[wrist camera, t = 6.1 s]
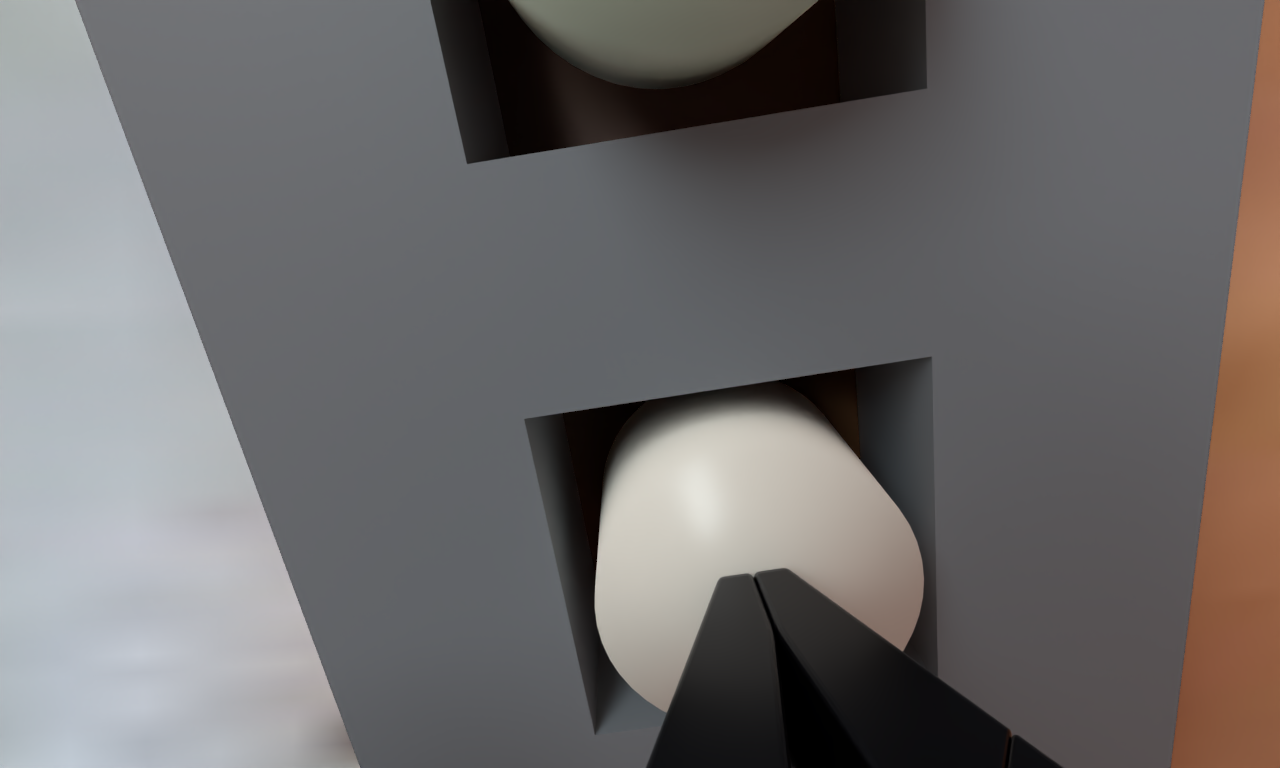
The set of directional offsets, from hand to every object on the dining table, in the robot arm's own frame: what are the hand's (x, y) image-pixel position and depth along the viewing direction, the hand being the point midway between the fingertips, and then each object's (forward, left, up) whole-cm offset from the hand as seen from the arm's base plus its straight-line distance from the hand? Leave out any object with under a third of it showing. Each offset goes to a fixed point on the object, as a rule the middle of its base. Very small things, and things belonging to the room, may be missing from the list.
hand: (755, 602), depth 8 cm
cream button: (0, 0, -3) cm, 3 cm away
